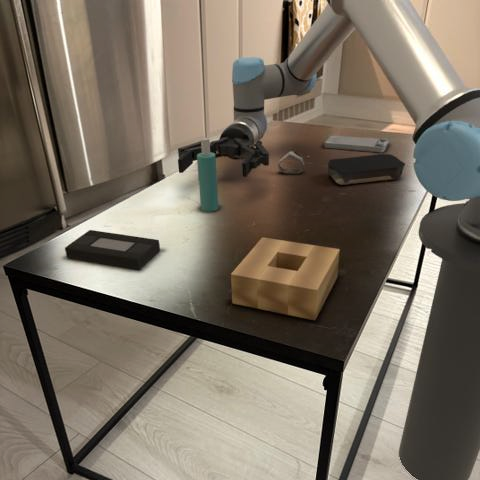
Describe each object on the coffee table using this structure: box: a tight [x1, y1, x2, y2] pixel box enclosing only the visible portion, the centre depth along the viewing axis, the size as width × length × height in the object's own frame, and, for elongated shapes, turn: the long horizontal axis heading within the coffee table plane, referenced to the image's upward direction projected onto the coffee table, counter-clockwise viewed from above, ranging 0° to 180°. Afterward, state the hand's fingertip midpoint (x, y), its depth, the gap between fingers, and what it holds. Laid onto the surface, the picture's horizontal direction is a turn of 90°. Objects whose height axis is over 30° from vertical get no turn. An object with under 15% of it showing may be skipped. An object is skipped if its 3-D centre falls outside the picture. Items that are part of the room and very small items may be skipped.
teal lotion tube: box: [196, 137, 219, 213], centre depth 100 cm, size 4×4×14 cm
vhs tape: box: [64, 229, 161, 271], centre depth 87 cm, size 8×14×2 cm, turn 70°
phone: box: [323, 134, 389, 154], centre depth 136 cm, size 8×16×1 cm, turn 67°
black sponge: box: [326, 153, 406, 186], centre depth 115 cm, size 16×8×4 cm, turn 101°
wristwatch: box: [277, 150, 305, 175], centre depth 119 cm, size 4×6×5 cm, turn 93°
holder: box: [230, 237, 341, 321], centre depth 75 cm, size 13×13×5 cm
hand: (211, 168), depth 102 cm, fingers open, 13 cm apart
